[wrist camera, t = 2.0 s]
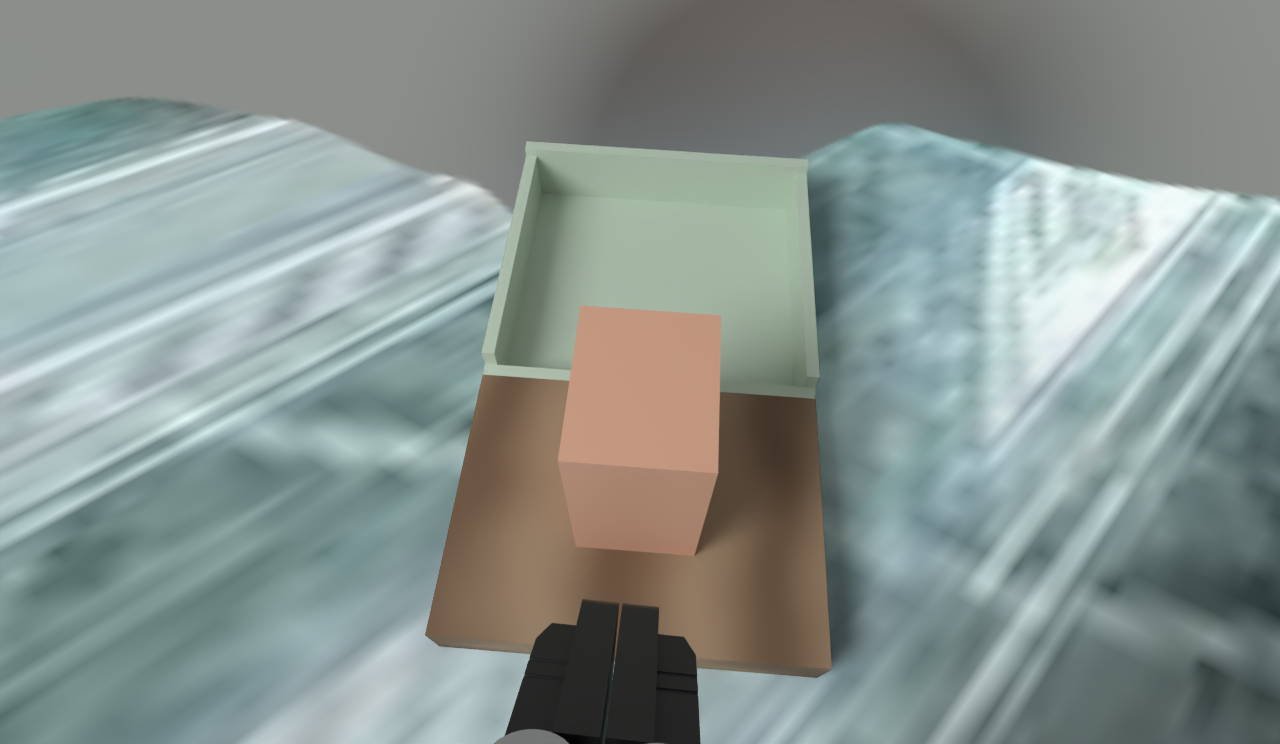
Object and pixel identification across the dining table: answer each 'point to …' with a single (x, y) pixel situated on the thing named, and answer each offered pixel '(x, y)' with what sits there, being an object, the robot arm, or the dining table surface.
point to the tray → (660, 259)
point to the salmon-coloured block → (641, 429)
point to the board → (678, 584)
